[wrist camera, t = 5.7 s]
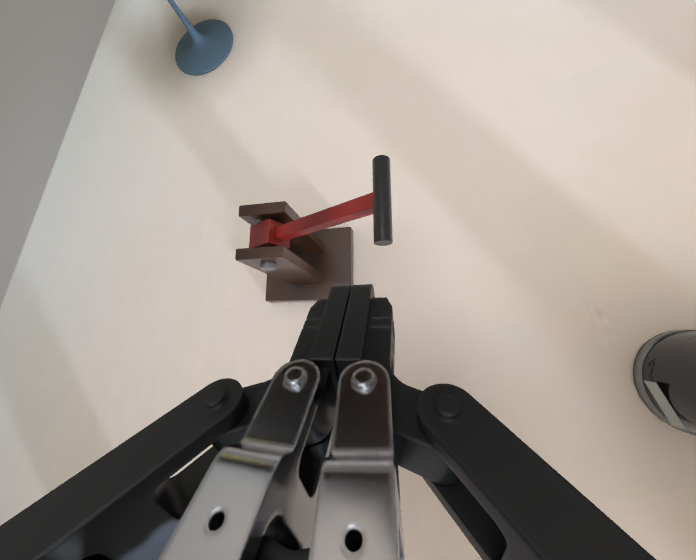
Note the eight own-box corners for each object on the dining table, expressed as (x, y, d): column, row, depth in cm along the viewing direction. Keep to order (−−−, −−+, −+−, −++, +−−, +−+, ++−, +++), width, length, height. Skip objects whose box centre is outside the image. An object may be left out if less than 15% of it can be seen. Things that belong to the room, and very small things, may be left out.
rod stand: (352, 230, 38) (322, 175, 25) (353, 300, 36) (320, 279, 23) (273, 236, 40) (208, 188, 27) (270, 302, 38) (199, 284, 25)
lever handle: (397, 164, 21) (379, 148, 19) (400, 245, 20) (381, 236, 18) (272, 214, 29) (251, 206, 27) (269, 273, 28) (247, 268, 26)
